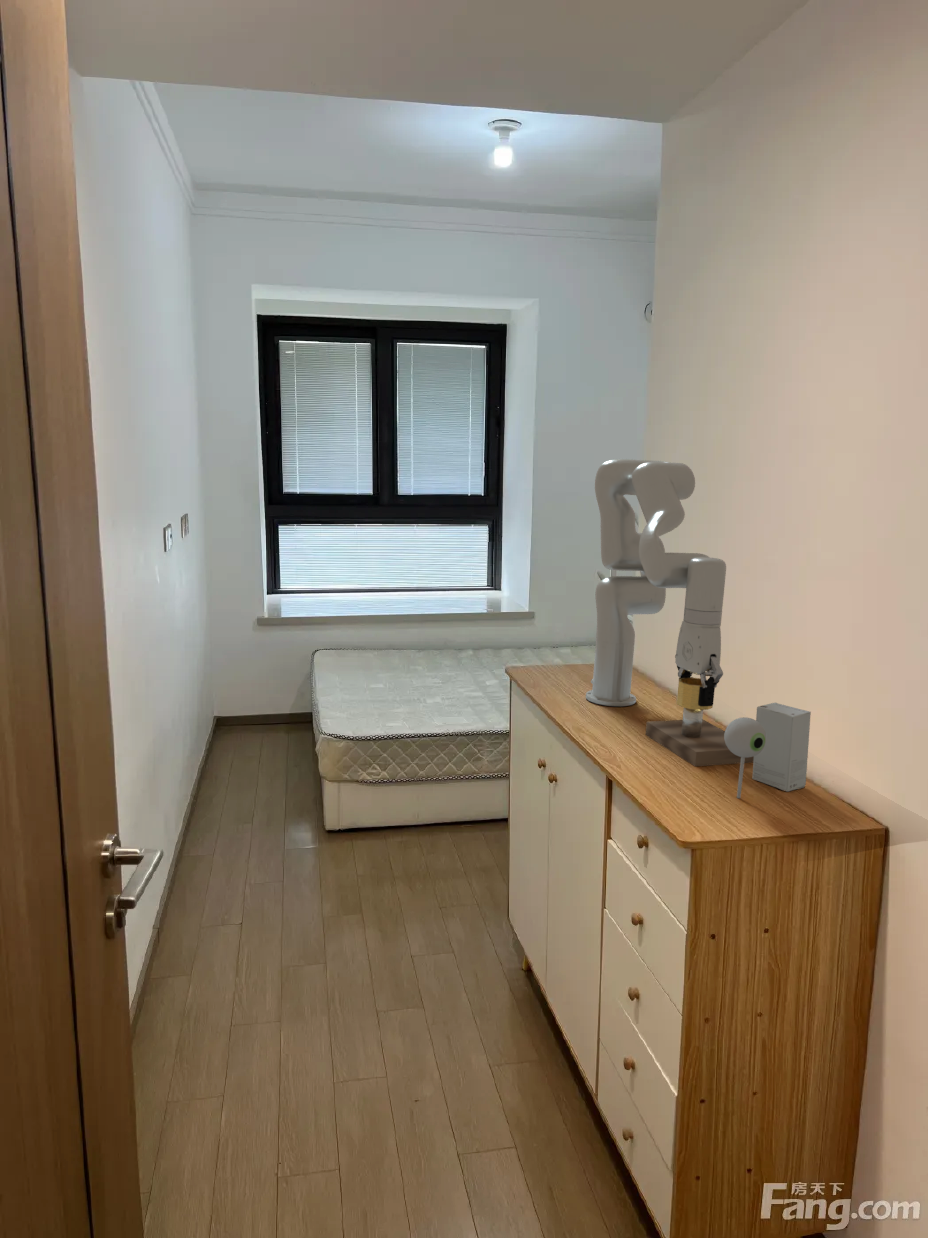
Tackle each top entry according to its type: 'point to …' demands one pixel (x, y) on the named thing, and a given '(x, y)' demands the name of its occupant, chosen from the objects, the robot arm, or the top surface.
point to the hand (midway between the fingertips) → (694, 700)
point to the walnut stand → (694, 743)
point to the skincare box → (783, 747)
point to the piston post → (692, 723)
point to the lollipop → (744, 741)
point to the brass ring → (690, 693)
